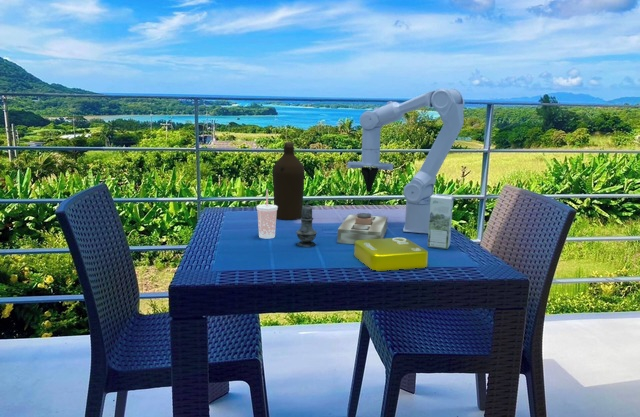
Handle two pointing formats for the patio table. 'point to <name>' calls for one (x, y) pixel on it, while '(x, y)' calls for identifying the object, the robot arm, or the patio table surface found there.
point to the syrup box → (440, 221)
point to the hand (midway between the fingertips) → (369, 191)
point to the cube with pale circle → (360, 227)
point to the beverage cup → (267, 219)
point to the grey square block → (351, 235)
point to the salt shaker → (306, 228)
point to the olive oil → (288, 185)
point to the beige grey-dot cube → (364, 219)
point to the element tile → (390, 254)
